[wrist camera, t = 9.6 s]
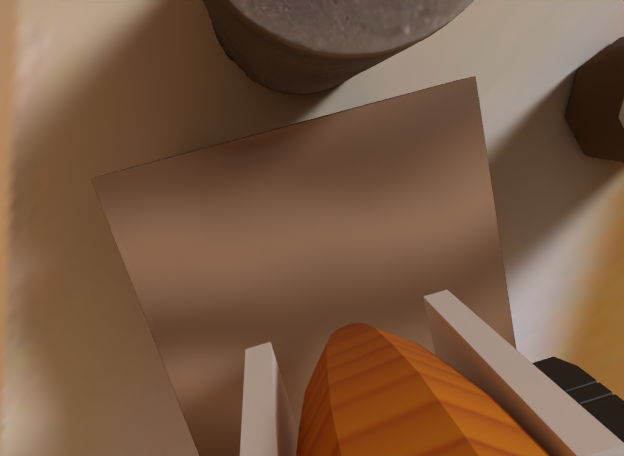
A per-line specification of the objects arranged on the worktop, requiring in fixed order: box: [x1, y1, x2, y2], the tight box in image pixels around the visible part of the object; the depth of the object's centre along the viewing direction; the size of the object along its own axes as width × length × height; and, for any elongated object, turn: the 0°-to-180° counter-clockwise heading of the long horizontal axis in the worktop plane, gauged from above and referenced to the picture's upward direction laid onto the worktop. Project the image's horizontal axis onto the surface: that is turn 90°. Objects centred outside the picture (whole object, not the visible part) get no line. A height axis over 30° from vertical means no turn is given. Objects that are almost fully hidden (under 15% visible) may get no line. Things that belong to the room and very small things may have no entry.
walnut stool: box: [91, 76, 516, 456], centre depth 22 cm, size 14×14×10 cm
